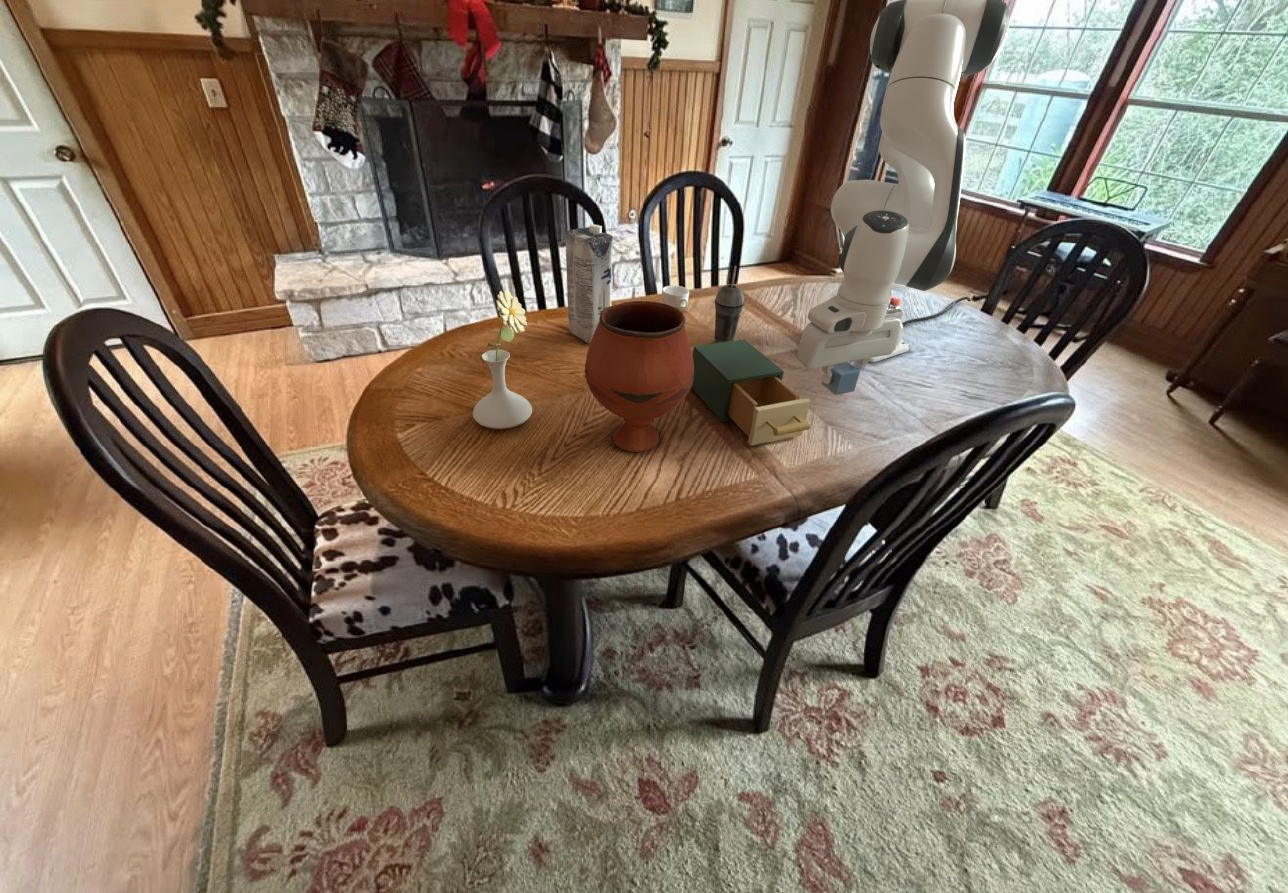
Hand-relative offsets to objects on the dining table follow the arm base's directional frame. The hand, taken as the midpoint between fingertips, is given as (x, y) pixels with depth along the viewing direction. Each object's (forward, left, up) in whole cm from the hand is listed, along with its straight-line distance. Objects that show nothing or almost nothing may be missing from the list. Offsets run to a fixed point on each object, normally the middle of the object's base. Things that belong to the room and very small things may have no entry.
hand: (839, 379), depth 105 cm
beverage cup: (+2, -40, -11) cm, 41 cm away
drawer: (+13, -3, -10) cm, 17 cm away
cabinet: (+13, -16, -11) cm, 23 cm away
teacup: (+4, -65, -11) cm, 66 cm away
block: (0, 0, -2) cm, 2 cm away
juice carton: (+33, -55, -11) cm, 65 cm away
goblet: (+38, -8, -11) cm, 41 cm away
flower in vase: (+60, -23, -11) cm, 65 cm away
